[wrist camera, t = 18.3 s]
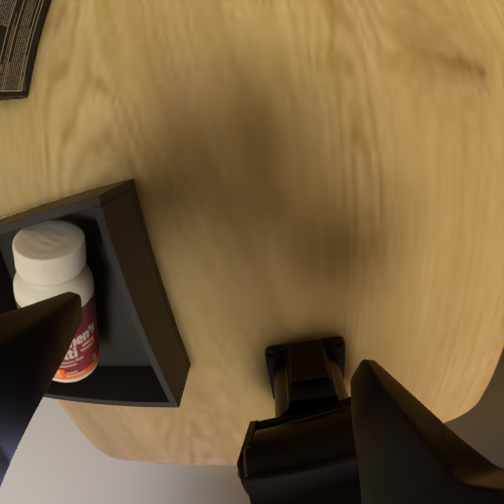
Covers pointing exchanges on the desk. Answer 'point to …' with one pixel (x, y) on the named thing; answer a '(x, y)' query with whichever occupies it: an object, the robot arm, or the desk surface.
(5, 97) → the small box
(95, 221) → the bin
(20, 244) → the pill bottle
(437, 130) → the desk surface
